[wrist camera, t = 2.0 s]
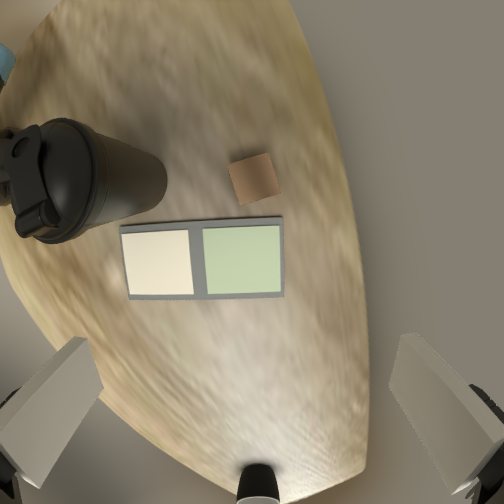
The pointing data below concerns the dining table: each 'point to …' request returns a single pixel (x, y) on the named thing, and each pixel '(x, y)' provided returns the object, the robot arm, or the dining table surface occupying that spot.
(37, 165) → the black travel mug
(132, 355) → the dining table surface
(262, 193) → the walnut block
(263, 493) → the mug
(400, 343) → the robot arm
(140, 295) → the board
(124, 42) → the dining table surface
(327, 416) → the dining table surface
